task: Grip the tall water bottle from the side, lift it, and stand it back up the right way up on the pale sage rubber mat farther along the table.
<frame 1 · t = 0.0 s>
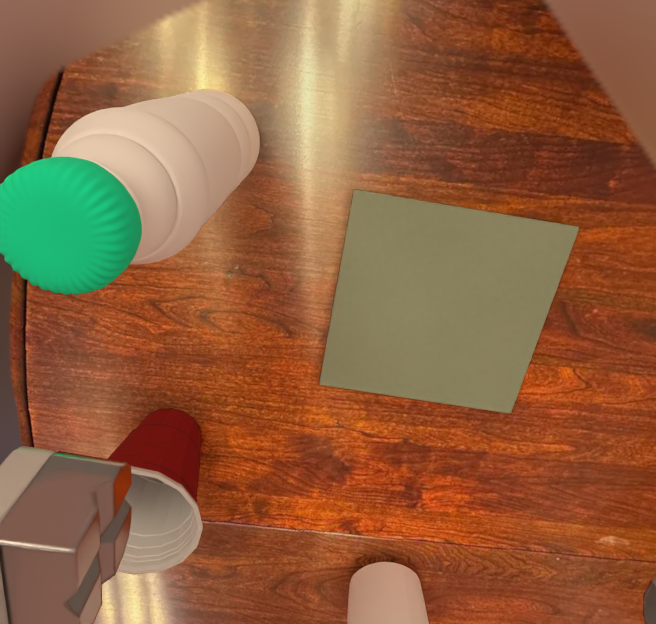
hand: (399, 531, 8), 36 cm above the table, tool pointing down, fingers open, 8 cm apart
water bottle: (215, 138, 41), on the table
plastic cup: (175, 430, 53), on the table
cup: (384, 575, 60), on the table
mat: (438, 310, 46), on the table
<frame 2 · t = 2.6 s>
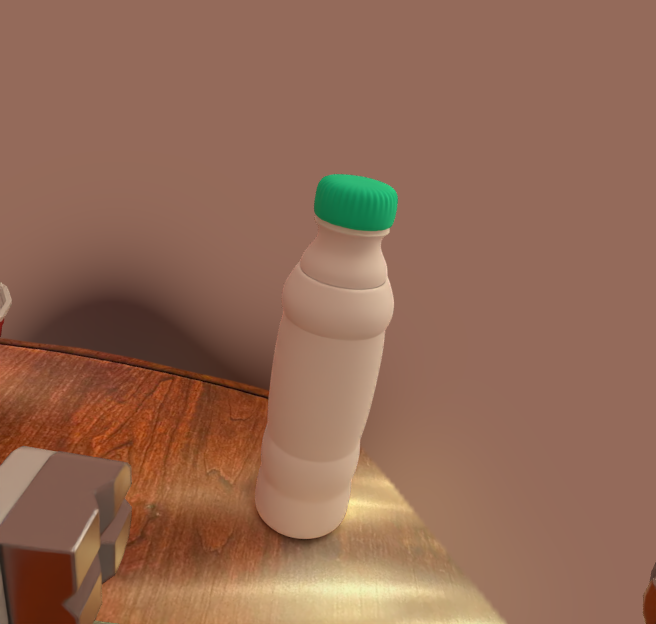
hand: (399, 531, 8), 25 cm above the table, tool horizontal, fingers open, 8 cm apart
water bottle: (299, 508, 41), on the table
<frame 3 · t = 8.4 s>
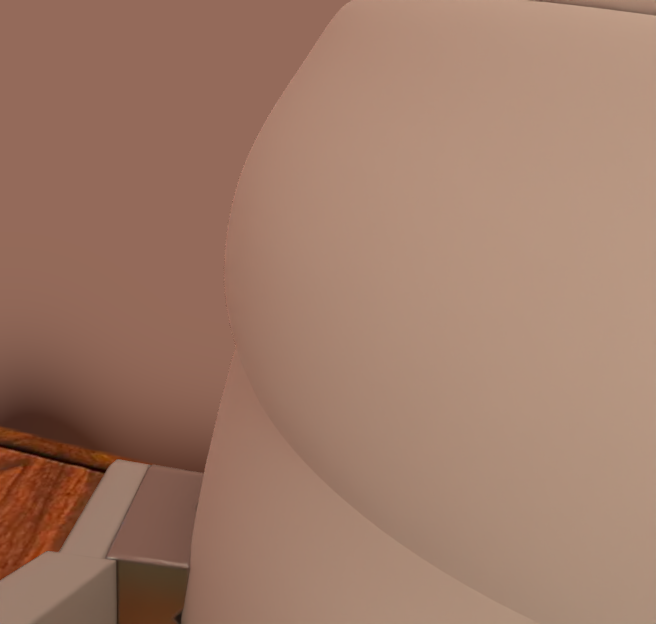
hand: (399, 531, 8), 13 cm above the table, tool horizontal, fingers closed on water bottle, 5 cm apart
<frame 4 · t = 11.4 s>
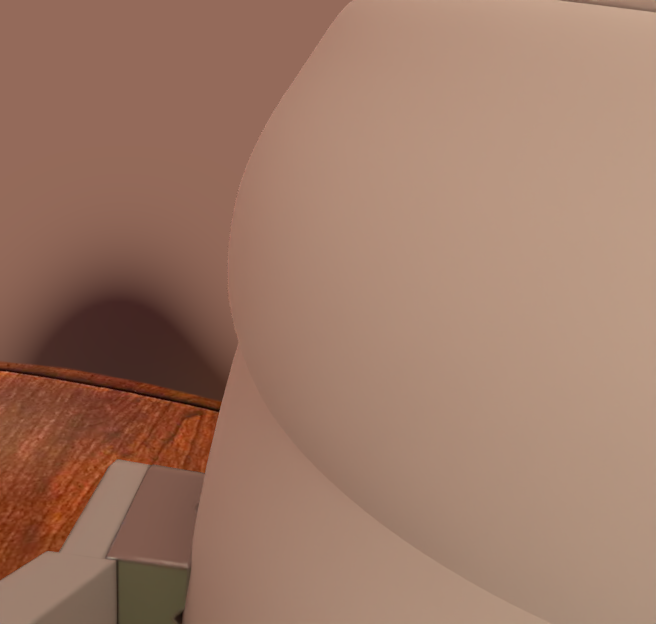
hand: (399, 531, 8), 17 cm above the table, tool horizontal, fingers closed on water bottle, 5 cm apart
when the fingers open (13 cm above the table, at t = 14.4 s): water bottle stays where it is, resting on mat.
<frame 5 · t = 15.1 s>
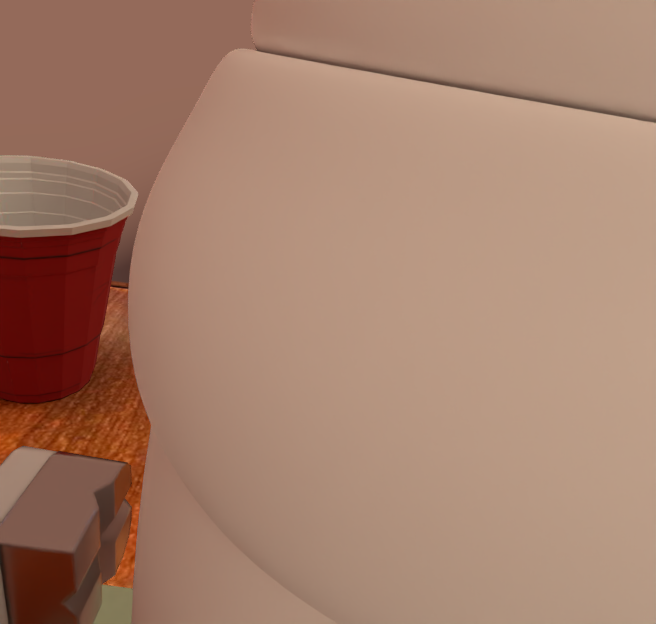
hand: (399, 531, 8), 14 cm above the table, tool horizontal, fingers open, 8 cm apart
plastic cup: (41, 380, 32), on the table
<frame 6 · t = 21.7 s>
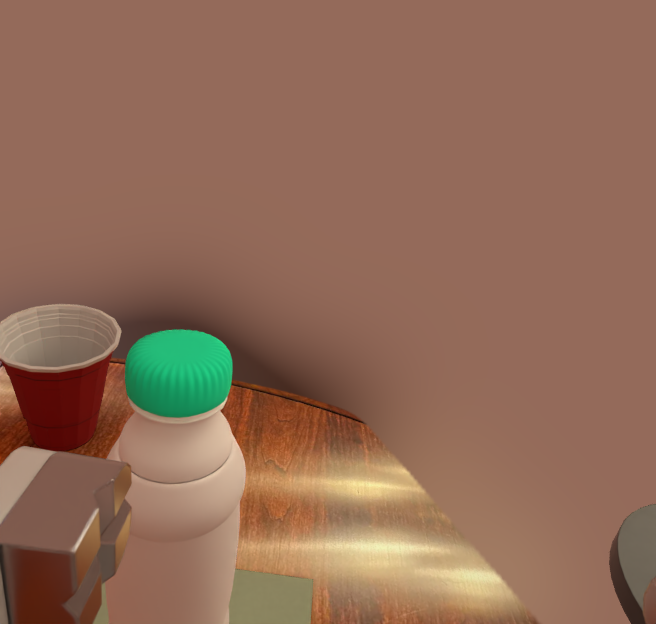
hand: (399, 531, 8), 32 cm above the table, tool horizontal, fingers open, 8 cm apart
plastic cup: (64, 436, 54), on the table
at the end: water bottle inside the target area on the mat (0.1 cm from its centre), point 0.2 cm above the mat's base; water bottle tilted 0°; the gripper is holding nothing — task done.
